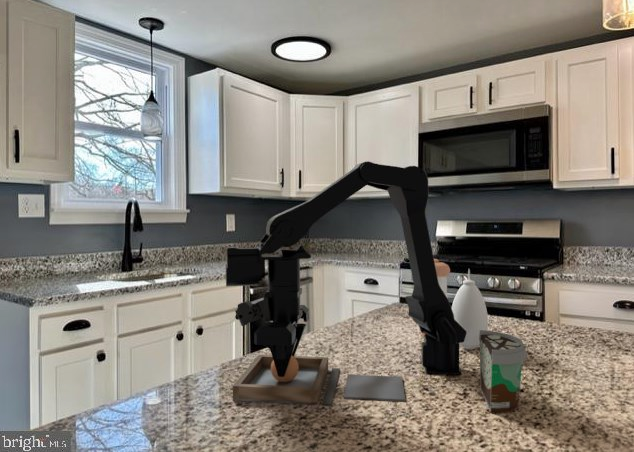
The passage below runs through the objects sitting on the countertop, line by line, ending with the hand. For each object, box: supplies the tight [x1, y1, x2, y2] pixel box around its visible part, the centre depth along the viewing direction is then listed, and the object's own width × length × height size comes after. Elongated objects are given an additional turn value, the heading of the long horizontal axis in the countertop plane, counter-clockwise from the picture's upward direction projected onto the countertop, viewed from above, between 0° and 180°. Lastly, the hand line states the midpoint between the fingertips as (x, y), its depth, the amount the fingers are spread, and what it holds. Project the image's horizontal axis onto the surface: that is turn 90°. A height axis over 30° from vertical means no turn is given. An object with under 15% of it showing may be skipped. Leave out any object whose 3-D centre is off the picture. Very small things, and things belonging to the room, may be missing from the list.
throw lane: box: [232, 354, 406, 407], centre depth 78 cm, size 28×16×2 cm, turn 82°
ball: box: [271, 356, 299, 382], centre depth 78 cm, size 5×5×5 cm
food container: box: [479, 330, 528, 414], centre depth 70 cm, size 12×6×10 cm, turn 168°
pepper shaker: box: [420, 258, 451, 338], centre depth 109 cm, size 7×7×19 cm
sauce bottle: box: [451, 269, 489, 351], centre depth 98 cm, size 8×8×18 cm
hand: (284, 370), depth 78 cm, fingers open, 6 cm apart
